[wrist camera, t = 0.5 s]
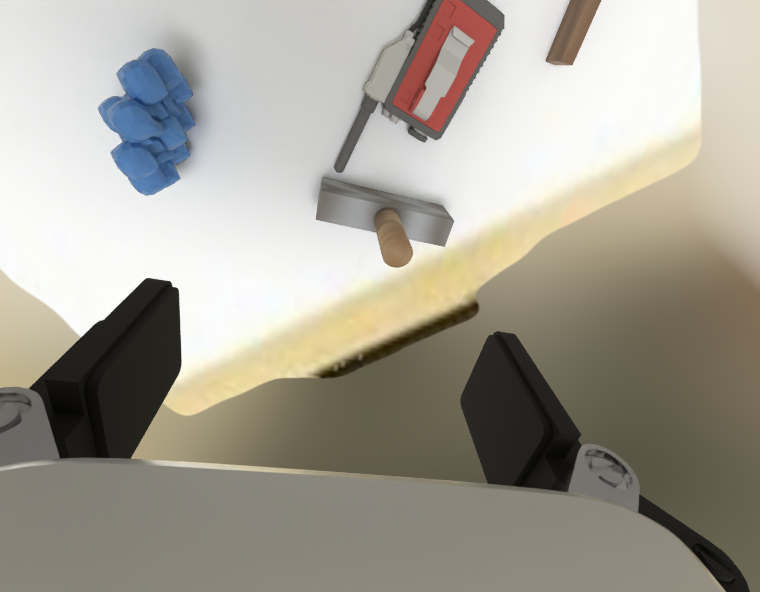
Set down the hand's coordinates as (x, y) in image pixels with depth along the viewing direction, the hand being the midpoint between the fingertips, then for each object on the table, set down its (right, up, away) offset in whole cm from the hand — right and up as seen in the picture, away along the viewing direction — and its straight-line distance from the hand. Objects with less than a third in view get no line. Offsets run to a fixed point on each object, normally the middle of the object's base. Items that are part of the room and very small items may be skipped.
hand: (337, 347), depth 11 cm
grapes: (-19, +19, +25) cm, 36 cm away
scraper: (+1, +12, +31) cm, 33 cm away
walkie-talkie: (+4, +22, +26) cm, 34 cm away
